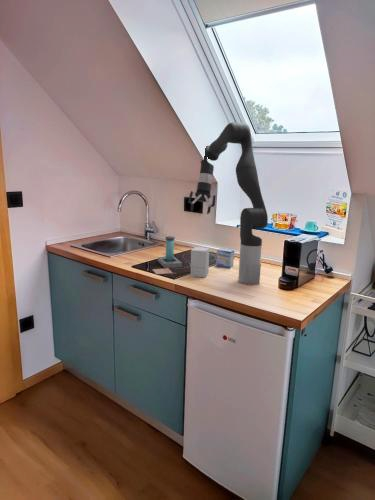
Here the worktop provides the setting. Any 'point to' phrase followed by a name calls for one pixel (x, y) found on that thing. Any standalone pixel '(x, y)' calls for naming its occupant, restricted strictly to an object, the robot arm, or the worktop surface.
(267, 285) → the worktop surface
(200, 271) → the supplement box
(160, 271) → the coaster
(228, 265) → the medicine box
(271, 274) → the worktop surface
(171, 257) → the plug
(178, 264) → the grey base plate
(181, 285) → the worktop surface
